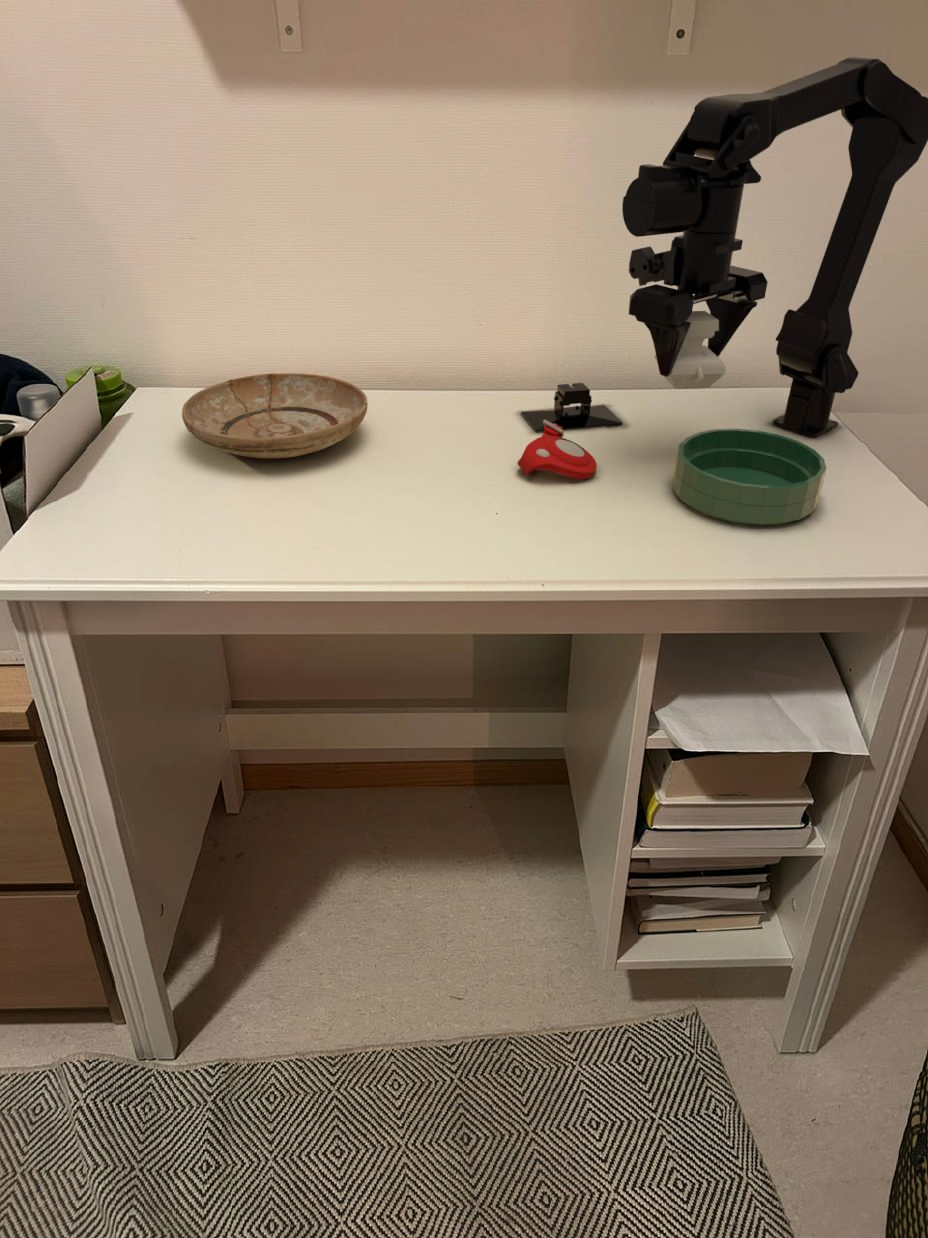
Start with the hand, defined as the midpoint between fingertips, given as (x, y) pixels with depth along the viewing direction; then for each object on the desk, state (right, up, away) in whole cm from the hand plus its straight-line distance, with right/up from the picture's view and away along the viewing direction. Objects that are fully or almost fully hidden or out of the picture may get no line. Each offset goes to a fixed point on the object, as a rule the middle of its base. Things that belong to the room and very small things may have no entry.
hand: (688, 367), depth 110 cm
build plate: (-12, -3, +16) cm, 20 cm away
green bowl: (+6, -16, -3) cm, 17 cm away
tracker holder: (-15, -11, +3) cm, 19 cm away
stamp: (0, -2, +1) cm, 2 cm away
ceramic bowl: (-51, -7, +9) cm, 52 cm away
